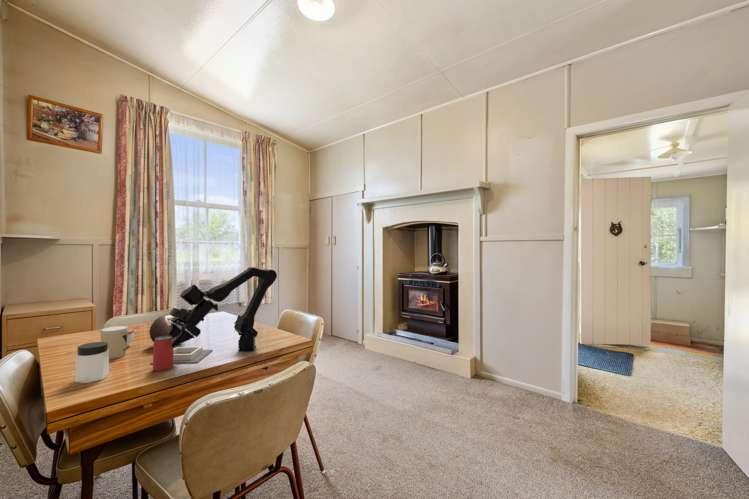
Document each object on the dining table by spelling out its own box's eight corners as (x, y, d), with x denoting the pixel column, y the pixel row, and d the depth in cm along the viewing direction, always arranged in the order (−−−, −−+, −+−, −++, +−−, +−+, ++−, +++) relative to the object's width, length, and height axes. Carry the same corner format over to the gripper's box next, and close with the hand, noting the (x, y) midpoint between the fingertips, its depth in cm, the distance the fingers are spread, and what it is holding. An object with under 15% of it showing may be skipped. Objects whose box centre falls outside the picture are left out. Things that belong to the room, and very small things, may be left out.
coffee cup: (129, 356, 138) (130, 328, 138) (101, 361, 131) (101, 332, 131) (125, 351, 144) (125, 324, 144) (98, 356, 137) (98, 328, 137)
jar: (106, 372, 120) (106, 340, 120) (111, 377, 114) (111, 344, 114) (73, 379, 113) (74, 345, 113) (77, 385, 108) (77, 350, 108)
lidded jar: (104, 346, 150) (104, 327, 150) (133, 342, 157) (133, 323, 157) (104, 352, 142) (104, 331, 142) (134, 348, 149) (134, 328, 149)
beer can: (177, 365, 127) (177, 335, 127) (164, 372, 120) (165, 340, 120) (161, 365, 127) (162, 335, 127) (148, 371, 121) (148, 339, 121)
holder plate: (212, 350, 146) (212, 344, 146) (197, 363, 130) (197, 356, 130) (170, 351, 144) (170, 345, 144) (150, 364, 128) (150, 357, 128)
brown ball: (158, 352, 143) (159, 319, 143) (143, 347, 151) (143, 315, 151) (192, 344, 155) (193, 313, 155) (176, 339, 163) (177, 310, 163)
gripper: (177, 297, 135) (145, 327, 127) (192, 302, 123) (158, 336, 115) (196, 313, 141) (167, 343, 133) (213, 320, 128) (182, 353, 120)
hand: (168, 344), depth 125 cm, fingers open, 9 cm apart
